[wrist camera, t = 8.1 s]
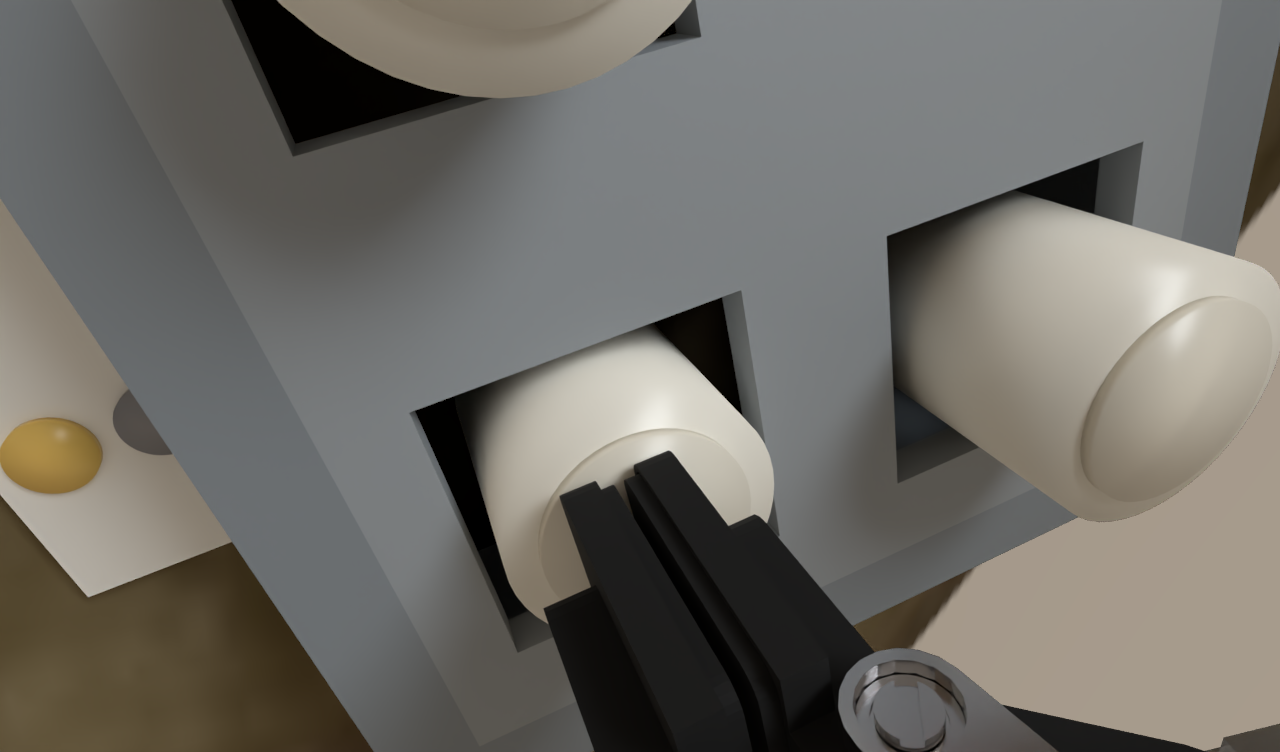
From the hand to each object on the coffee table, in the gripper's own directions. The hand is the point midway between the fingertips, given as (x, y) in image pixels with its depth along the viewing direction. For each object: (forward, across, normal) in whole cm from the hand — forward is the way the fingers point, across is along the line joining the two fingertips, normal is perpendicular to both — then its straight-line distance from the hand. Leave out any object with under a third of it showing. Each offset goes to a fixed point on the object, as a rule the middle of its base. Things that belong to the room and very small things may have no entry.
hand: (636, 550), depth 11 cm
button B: (+3, -8, 0) cm, 8 cm away
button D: (+5, 0, 0) cm, 5 cm away
